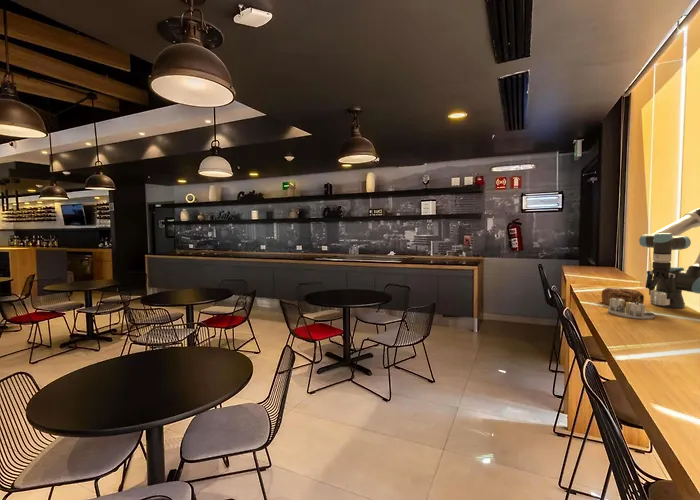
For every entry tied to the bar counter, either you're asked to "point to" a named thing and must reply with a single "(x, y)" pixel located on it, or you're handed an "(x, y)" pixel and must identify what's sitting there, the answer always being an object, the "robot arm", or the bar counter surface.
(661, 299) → the planet gear
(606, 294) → the bread
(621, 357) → the bar counter surface
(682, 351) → the bar counter surface
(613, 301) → the carrier
